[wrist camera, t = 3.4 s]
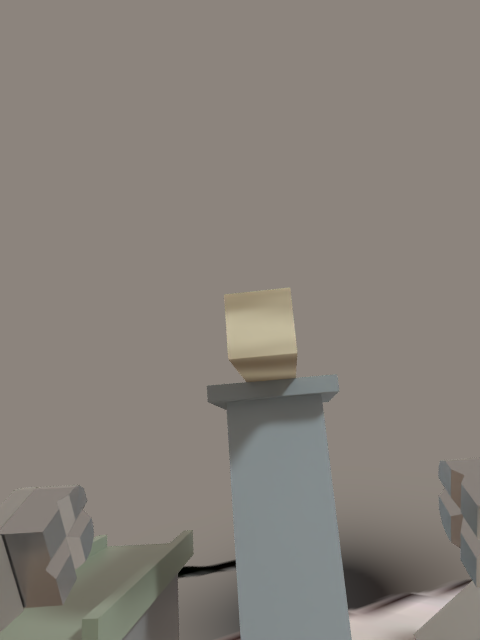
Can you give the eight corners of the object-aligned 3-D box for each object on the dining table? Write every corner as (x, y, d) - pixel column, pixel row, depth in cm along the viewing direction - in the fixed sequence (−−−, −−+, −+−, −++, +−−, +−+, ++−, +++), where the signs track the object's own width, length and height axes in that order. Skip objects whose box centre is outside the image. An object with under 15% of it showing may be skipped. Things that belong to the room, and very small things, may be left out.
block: (297, 353, 18) (290, 287, 19) (228, 359, 19) (224, 294, 19) (294, 398, 39) (290, 366, 40) (261, 401, 40) (259, 369, 40)
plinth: (416, 966, 19) (337, 374, 26) (235, 959, 19) (207, 385, 26) (380, 812, 26) (326, 388, 33) (251, 811, 27) (225, 397, 34)
